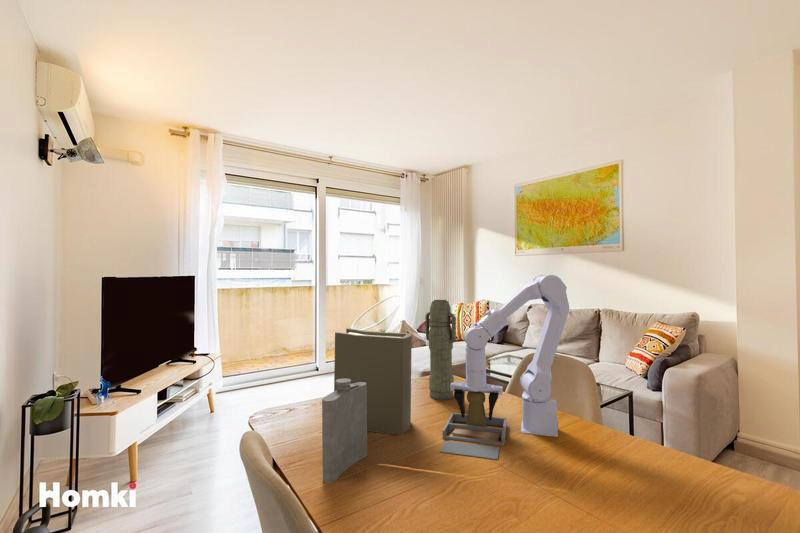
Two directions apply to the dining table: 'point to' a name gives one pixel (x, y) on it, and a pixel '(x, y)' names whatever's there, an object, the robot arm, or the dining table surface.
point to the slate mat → (470, 450)
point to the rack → (475, 428)
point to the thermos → (440, 349)
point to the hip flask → (343, 428)
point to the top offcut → (476, 434)
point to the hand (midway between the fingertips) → (476, 417)
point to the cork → (476, 409)
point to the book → (378, 375)
